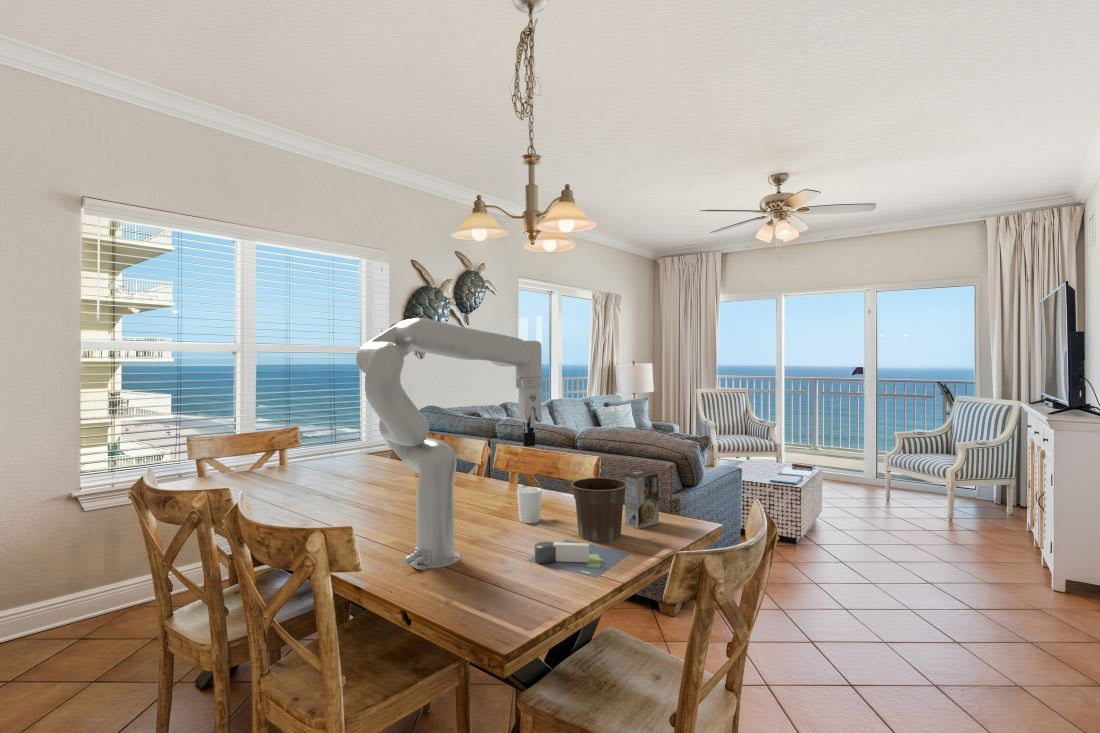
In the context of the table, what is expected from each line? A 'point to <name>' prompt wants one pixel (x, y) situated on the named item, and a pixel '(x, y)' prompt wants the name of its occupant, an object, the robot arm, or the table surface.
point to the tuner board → (590, 568)
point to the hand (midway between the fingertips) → (529, 445)
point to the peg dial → (562, 552)
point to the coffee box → (641, 499)
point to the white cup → (529, 504)
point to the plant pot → (599, 508)
